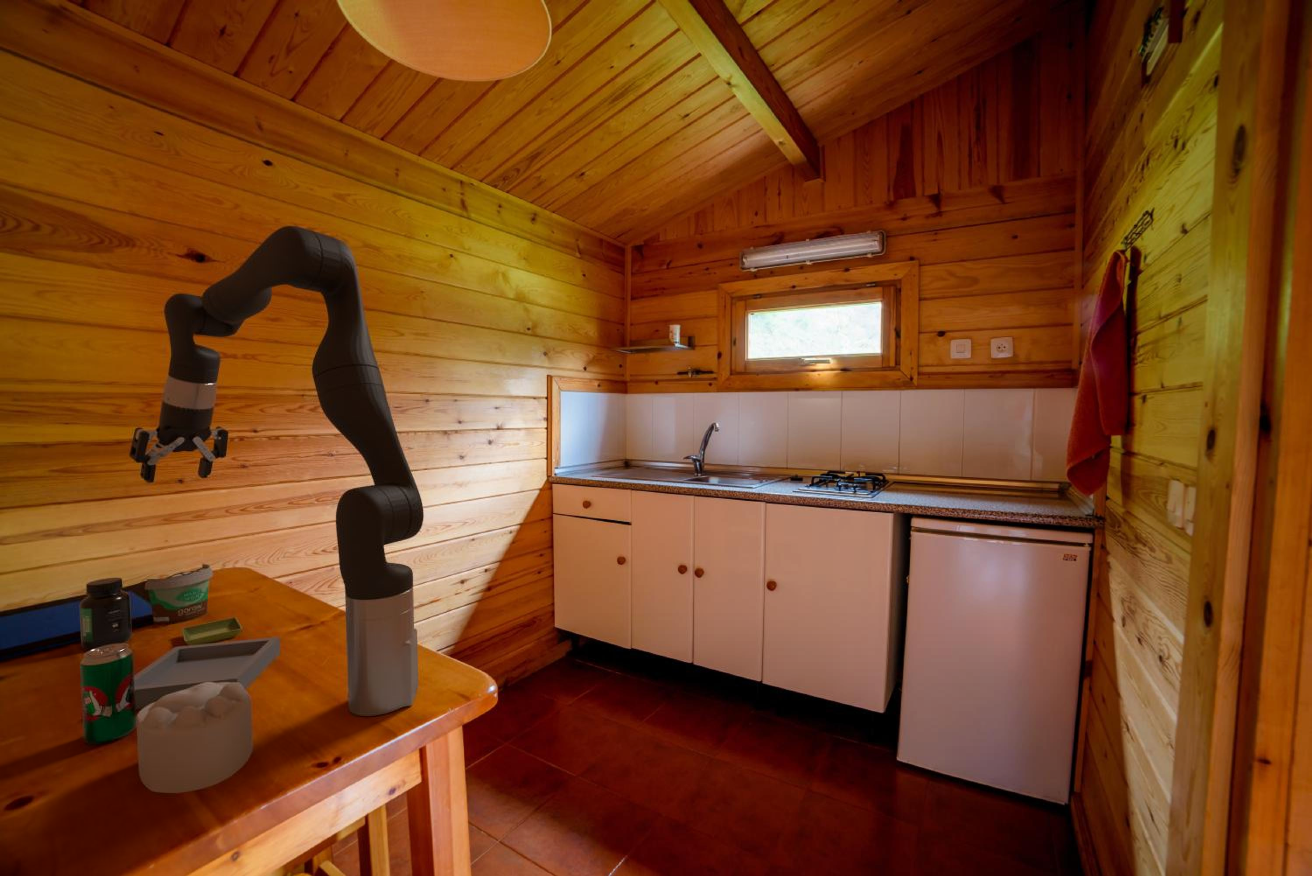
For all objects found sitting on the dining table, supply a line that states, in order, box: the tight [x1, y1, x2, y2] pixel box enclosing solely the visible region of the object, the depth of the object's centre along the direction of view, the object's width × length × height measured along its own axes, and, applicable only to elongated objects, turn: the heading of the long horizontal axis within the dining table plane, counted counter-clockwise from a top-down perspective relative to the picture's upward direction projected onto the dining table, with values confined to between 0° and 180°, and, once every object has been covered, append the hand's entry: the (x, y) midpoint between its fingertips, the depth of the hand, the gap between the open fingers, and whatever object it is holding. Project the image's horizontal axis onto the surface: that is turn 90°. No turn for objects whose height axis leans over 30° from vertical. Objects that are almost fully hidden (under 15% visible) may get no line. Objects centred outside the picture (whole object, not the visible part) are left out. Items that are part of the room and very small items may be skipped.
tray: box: [134, 636, 281, 710], centre depth 89 cm, size 16×16×3 cm
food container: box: [144, 563, 214, 626], centre depth 116 cm, size 12×6×10 cm, turn 168°
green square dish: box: [180, 616, 243, 646], centre depth 107 cm, size 9×9×2 cm
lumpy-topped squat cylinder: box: [136, 682, 254, 794], centre depth 68 cm, size 10×13×9 cm
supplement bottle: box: [78, 577, 133, 651], centre depth 104 cm, size 7×7×12 cm
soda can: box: [79, 642, 137, 745], centre depth 74 cm, size 5×5×12 cm
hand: (176, 478), depth 105 cm, fingers open, 8 cm apart
